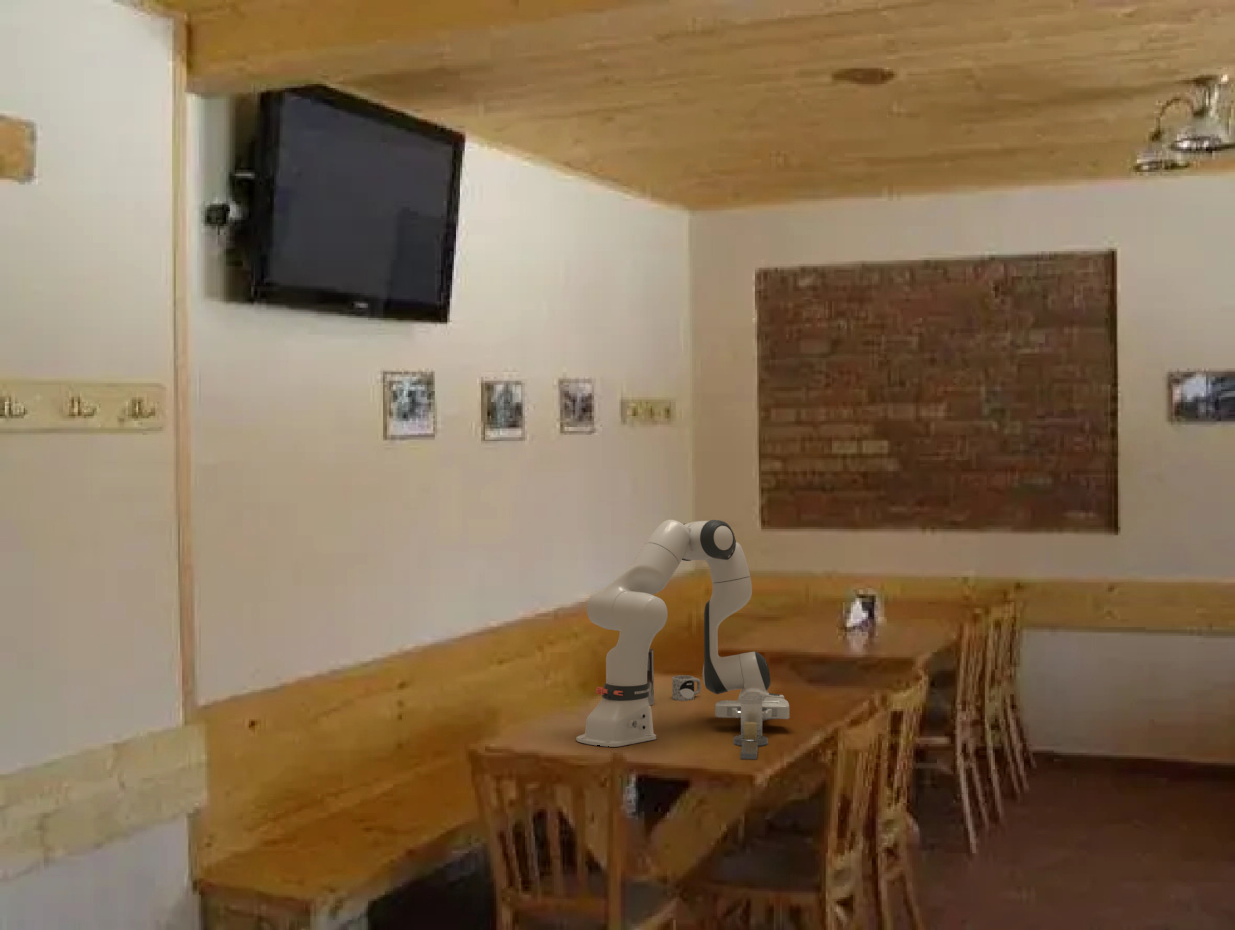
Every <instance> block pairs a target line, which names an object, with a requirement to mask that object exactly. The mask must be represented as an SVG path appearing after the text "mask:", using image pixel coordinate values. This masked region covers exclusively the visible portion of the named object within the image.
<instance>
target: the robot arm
mask: <svg viewBox="0 0 1235 930" xmlns="http://www.w3.org/2000/svg"><path fill="white" fill-rule="evenodd" d="M682 561H685V562H690V561H691V562H692V561H705V562H706V564H707V565H708V568H709V571H710V580H711V584H712V592H711V596H710V600H708V601H707V602H705V605H704V610H703V611H704V612H703V661H704V662H703V667H702V681H703V685H704V686H705V688H706V690H708V691H710V692H711V693H712V694H715V695H720V694H724V693H728V692H730V691H736V690H740V692H739V695H738V698H737V700H733V699H732V700H718V701H717V702H716V703H715V705H714V709H715V710H714V715H715V717H716V718H726V719H727V718H728V719H729V718H731V719H732V718H733V719H741V696H762V722H764V721H768V720H781V719H782V720H788V719H790V704H789V701H788V700H787V699H785V696H784V695H783V694H777V693H770V692H769V691H768V690H769V688H770V686H771V673H770V670H769V666H768V665H769V664H768V662H767V660H766V658H765V657H764V656H763V655H762V654H761V653H759V652H758V651H749V652H743V653H738V654H734V655H728V656H720V655H719V637H718V636H719V633H718V632H719V627H720V624H721V623H723V621H724V620H726V619H727V618H728V617H730V616H733V614H735V613H736V612H737V613H738V611H740V610H741V609H743V608H744V607H745V606H746V605H747V604H748V603H749V601H751V598H752V594H753V583H752V578H751V573H750V568H749V565H748V561H747V557H746V555H745V552H744V550H743V548H742V545H741V544H740V543H739V542H737V541H736V537H735V533H734V531H733V529H732V527H731V526H730V524H729V523H727V522H726V521H724V520H719V519H718V520H717V519H711V520H695V521H691V522H687V523H682V522H681V521H679V520H676V519H667V520H664V521H662V522H661V523H660V524H659V525H658V526H657V528H655V530H653V532H652V533H651V535H649V537H648V538H647V539H646V541H645V543H644V544H643V546H642V548H641V549H640V550H639V552H638V554H637V555H636V557H635V558H634V559H633V561H632V562H631V564H630V565H629V567H627V568H626V570H625V571H623V572H622V573H621V575H619V576H618V577H617V578H616V579H614V580H613V581H612V582H611V583H610V584H608V585H607V586H605V587H603V588H601V589H599V590H597V591H595V592H593V593H592V594H591V595H590V596H589V598H588V601H587V603H586V614H587V618H588V619H589V621H590V622H591V623H592V624H594V625H596V626H598V627H600V628H601V629H605V630H610V631H611V630H612V631H618V632H619V636H618V638H617V639H618V640H617V643H616V644H615V646H613V647H612V648H611V649H610V650H609V651H608V652H607V653H606V657H605V676H606V677H605V682H604V686H603V687H601V686H597V687H596V689H595V693H596V694H597V695H601V697H602V698H601V699H600V701H599V702H598V704H597V705H596V706H595V707H594V709H592V711H591V712H590V714H588V715H587V718H586V720H585V729H584V733H583V734H580V735H578V736H575V737H576V739H575V741H576V740H577V741H576V742H579V743H581V744H585V745H591V746H592V745H593V746H597V745H600V747H608V746H609V747H612V748H613V747H614V748H617V747H623V746H627V745H628V746H629V745H634V744H639V743H643V742H650V741H653V740H654V741H655V740H657V734H655V733H654V725H653V713H652V707H651V705H649V702H648V698H647V697H648V696H649V683H648V682H647V663H648V653H649V649H651V644H652V642H653V640H654V638H655V636H657V634H658V633H659V632H660V631H661V630H663V629H664V627H665V625H666V623H667V620H668V616H669V615H668V607H667V605H666V603H665V601H664V600H663V599H662V598H660V597H658V596H656V595H655V594H658V593H660V592H661V591H663V590H664V589H665V588H666V587H667V585H668V584H669V582H670V581H671V579H672V577H673V575H674V573H675V572H676V570H677V569H678V567H679V565H680V564H681V562H682Z"/></svg>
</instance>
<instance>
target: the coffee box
mask: <svg viewBox="0 0 1235 930" xmlns="http://www.w3.org/2000/svg"><path fill="white" fill-rule="evenodd" d="M654 669H655V667H654V648H649V653H648V663H647V682H648V683H649V696H648V697H647V698H648V702H649V705H650V706H653V705H654V703H655V688H654V687H655V686H654V685H655V684H654V682H655V681H654V680H655V679H654V677H655V675H654V672H655V671H654Z"/></svg>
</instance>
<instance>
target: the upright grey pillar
mask: <svg viewBox="0 0 1235 930" xmlns="http://www.w3.org/2000/svg"><path fill="white" fill-rule="evenodd" d="M745 722H757V735H761V736H763V721H762V696H741V718H740V735H744V723H745Z"/></svg>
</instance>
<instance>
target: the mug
mask: <svg viewBox="0 0 1235 930" xmlns="http://www.w3.org/2000/svg"><path fill="white" fill-rule="evenodd" d="M671 679H672V683H671V684H672V686H671V687H672V693H671V695H672V697H671V698H672V700H674V701H679V702H680V701H681V702H687V701H688V700H689V701H694V700H695V696H696V695H698V694H699V693H701V688H702V685H701V684H702V682H701V680H700V678H698V677H695V676H693V675H685V674H684V675H683V674H682V675H681V674H680V675H674V676H672V678H671ZM695 682H696V684H697V686H696V687H697V688H696V690H695ZM693 699H694V700H693Z"/></svg>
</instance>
